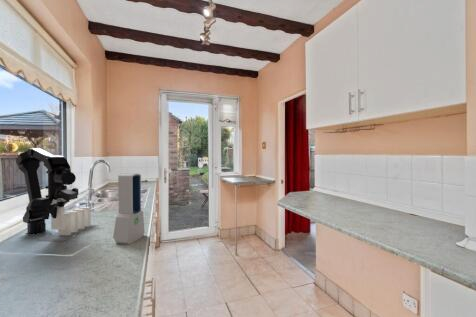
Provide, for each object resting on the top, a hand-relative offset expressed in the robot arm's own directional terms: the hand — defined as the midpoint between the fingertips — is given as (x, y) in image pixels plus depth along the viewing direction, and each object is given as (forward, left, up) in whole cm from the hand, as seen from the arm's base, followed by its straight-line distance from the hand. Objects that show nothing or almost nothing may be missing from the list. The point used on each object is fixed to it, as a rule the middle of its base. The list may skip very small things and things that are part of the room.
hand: (56, 217), depth 106 cm
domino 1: (+1, 0, -5) cm, 5 cm away
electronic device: (+33, +3, -10) cm, 35 cm away
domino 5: (0, +18, -9) cm, 20 cm away
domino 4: (0, +13, -9) cm, 16 cm away
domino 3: (0, +9, -9) cm, 13 cm away
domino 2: (0, +4, -9) cm, 10 cm away
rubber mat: (0, +8, -10) cm, 13 cm away
